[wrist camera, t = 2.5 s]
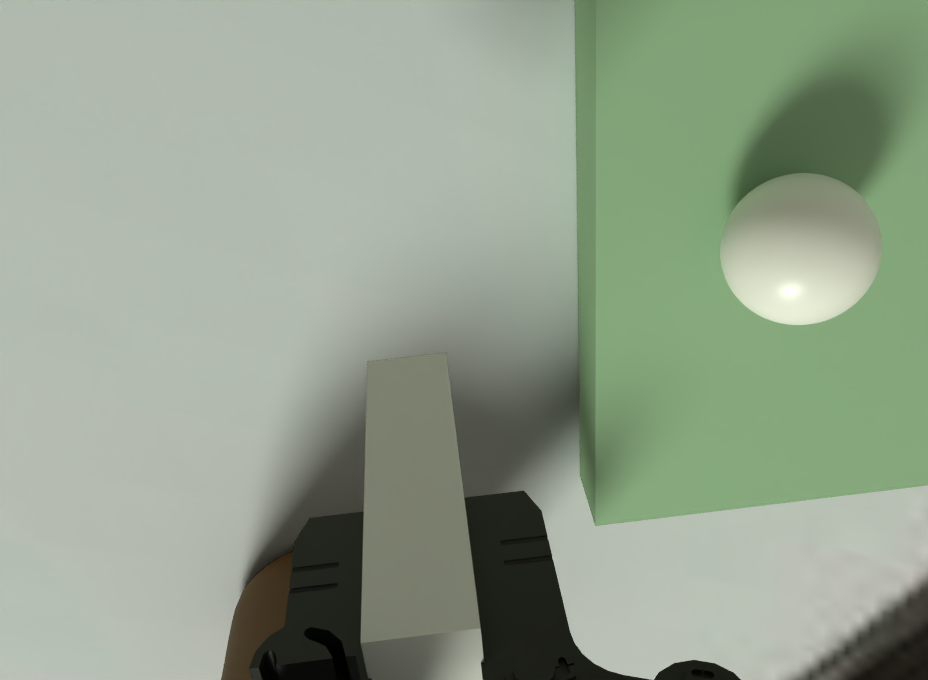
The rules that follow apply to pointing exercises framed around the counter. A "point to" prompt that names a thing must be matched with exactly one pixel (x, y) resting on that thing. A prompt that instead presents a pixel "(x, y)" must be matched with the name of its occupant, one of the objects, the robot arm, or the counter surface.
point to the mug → (257, 616)
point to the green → (698, 252)
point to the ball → (801, 249)
